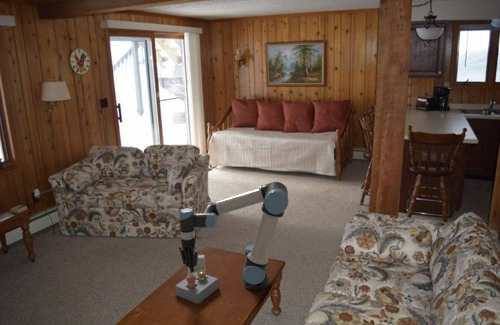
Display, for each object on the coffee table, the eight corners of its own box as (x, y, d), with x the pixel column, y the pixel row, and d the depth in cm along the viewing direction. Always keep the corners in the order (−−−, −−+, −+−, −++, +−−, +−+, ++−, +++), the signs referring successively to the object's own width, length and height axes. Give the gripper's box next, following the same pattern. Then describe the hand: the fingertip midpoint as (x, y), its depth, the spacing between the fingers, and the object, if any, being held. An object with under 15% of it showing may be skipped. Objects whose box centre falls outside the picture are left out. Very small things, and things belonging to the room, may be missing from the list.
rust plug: (199, 290, 227) (198, 276, 225) (192, 295, 223) (191, 280, 220) (191, 287, 230) (190, 273, 228) (185, 292, 226) (183, 278, 223)
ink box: (206, 271, 251) (205, 254, 248) (204, 276, 246) (203, 258, 243) (192, 271, 252) (191, 254, 249) (190, 275, 247) (189, 258, 244)
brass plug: (209, 285, 235) (208, 271, 232) (203, 289, 230) (202, 275, 228) (202, 282, 238) (201, 269, 235) (195, 287, 233) (194, 273, 231)
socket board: (218, 287, 234) (218, 278, 232) (198, 304, 219) (197, 294, 218) (197, 280, 242) (196, 271, 241) (176, 295, 228) (175, 285, 226)
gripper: (201, 237, 217) (204, 276, 224) (183, 232, 224) (186, 270, 231) (192, 242, 211) (195, 283, 218) (174, 237, 218) (177, 276, 225)
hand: (190, 276), depth 224 cm, fingers closed
